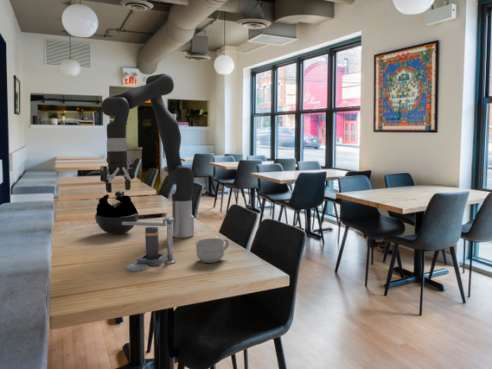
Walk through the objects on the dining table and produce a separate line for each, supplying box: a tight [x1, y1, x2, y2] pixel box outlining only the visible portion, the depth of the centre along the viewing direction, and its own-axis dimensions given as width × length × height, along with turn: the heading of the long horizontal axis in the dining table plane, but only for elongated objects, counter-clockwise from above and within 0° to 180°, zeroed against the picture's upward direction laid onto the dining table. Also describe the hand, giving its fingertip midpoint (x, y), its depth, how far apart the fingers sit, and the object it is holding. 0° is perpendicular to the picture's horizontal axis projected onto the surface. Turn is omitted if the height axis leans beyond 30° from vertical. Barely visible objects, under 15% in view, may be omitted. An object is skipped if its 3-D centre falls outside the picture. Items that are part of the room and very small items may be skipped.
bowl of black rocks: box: [94, 194, 140, 236], centre depth 207 cm, size 20×20×19 cm
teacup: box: [195, 237, 230, 264], centre depth 166 cm, size 14×11×8 cm
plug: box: [144, 226, 160, 259], centre depth 164 cm, size 5×5×13 cm
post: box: [164, 221, 176, 265], centre depth 163 cm, size 4×4×16 cm
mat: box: [125, 262, 149, 272], centre depth 157 cm, size 8×8×1 cm
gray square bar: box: [122, 217, 174, 227], centre depth 163 cm, size 20×3×3 cm, turn 82°
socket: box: [136, 252, 168, 267], centre depth 164 cm, size 9×9×2 cm
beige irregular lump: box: [111, 190, 125, 208], centre depth 234 cm, size 16×11×18 cm
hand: (118, 191), depth 169 cm, fingers open, 8 cm apart
